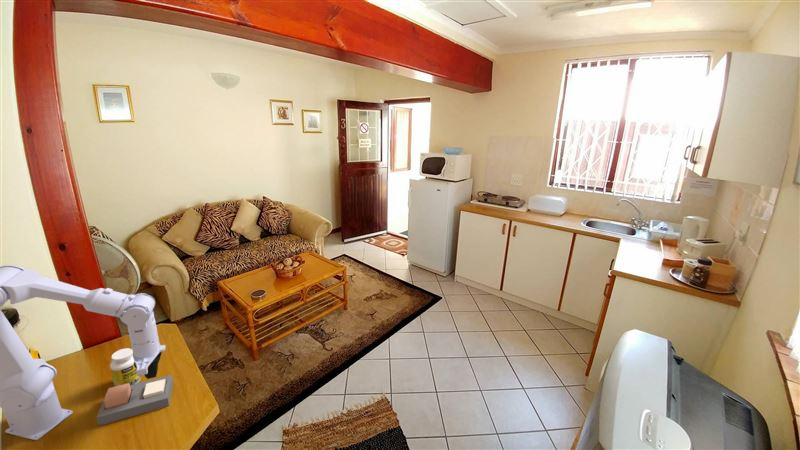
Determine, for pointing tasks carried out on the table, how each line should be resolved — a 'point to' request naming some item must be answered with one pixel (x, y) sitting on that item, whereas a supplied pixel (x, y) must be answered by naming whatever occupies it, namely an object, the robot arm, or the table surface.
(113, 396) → the key terracotta
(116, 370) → the pill bottle
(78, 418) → the table surface
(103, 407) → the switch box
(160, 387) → the key cream
